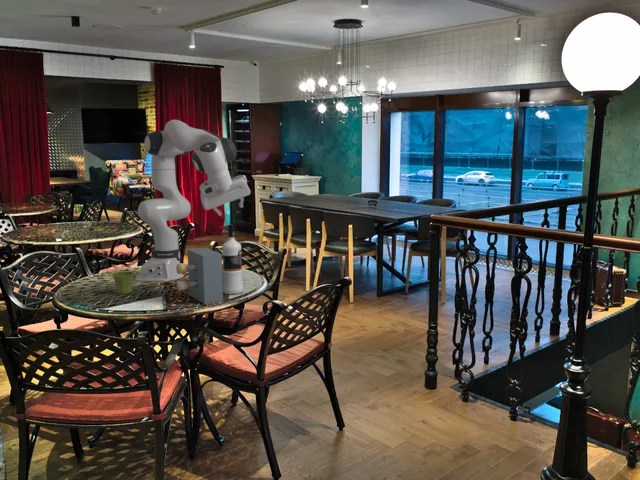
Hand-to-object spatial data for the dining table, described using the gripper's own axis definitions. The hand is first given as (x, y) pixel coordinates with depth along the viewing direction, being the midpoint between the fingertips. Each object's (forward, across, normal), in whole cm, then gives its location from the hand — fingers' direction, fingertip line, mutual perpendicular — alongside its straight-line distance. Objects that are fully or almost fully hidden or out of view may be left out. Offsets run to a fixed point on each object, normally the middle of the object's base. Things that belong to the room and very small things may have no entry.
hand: (231, 210), depth 243 cm
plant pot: (+26, +56, -12) cm, 62 cm away
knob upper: (+17, +23, +7) cm, 30 cm away
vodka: (+36, +11, +4) cm, 38 cm away
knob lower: (+24, +25, +9) cm, 36 cm away
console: (+30, +23, +9) cm, 39 cm away
